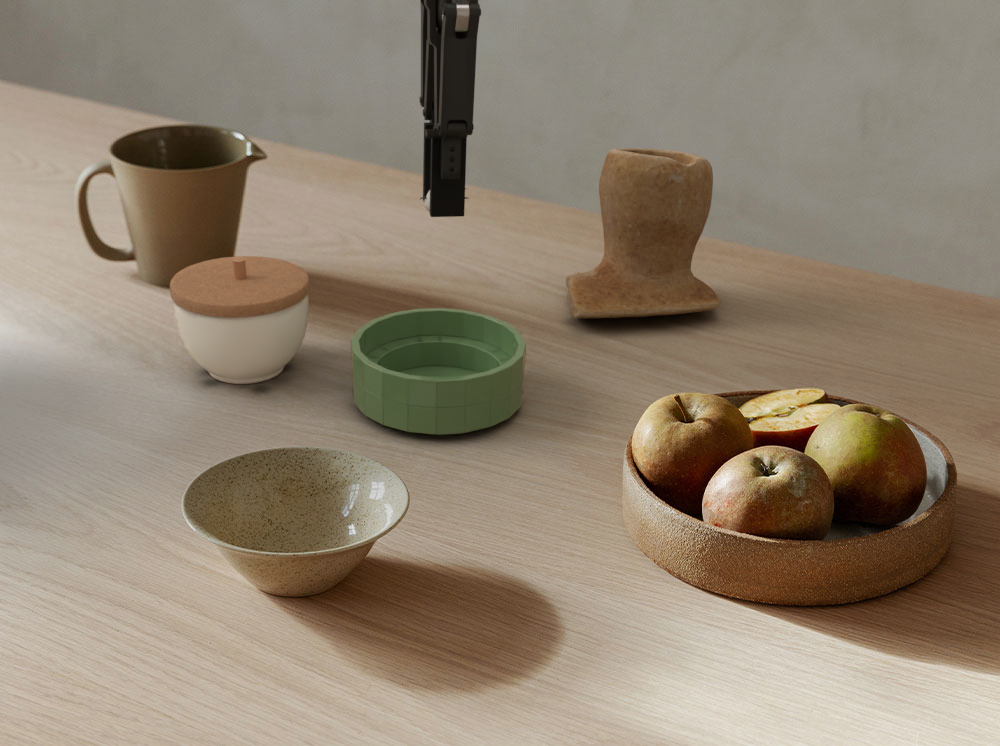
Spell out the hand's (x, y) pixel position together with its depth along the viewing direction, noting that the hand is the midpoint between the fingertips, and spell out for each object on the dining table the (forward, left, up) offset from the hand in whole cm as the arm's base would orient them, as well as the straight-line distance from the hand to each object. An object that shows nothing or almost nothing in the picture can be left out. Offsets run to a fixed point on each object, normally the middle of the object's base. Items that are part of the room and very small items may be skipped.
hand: (443, 207), depth 91 cm
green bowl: (-2, -11, -12) cm, 16 cm away
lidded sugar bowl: (-17, -3, -12) cm, 21 cm away
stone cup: (+19, +6, -12) cm, 24 cm away
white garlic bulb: (0, 0, 0) cm, 0 cm away
